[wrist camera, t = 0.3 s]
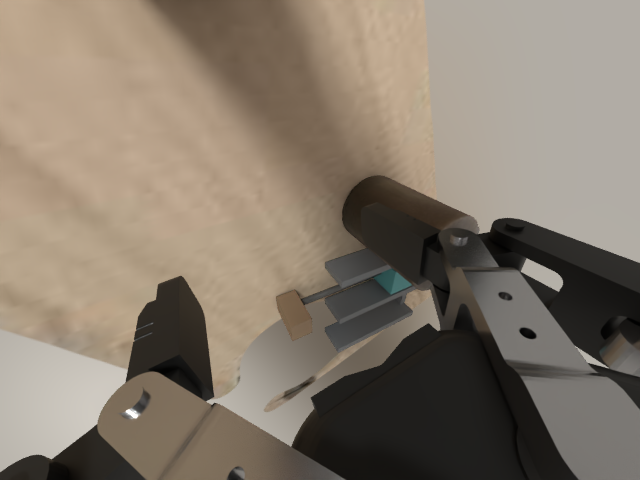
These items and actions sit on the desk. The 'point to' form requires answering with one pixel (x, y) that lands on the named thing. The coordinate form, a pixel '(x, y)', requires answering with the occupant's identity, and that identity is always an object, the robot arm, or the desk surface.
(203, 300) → the desk surface
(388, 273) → the block ended dumbbell
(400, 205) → the pillar candle
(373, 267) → the lane rack
